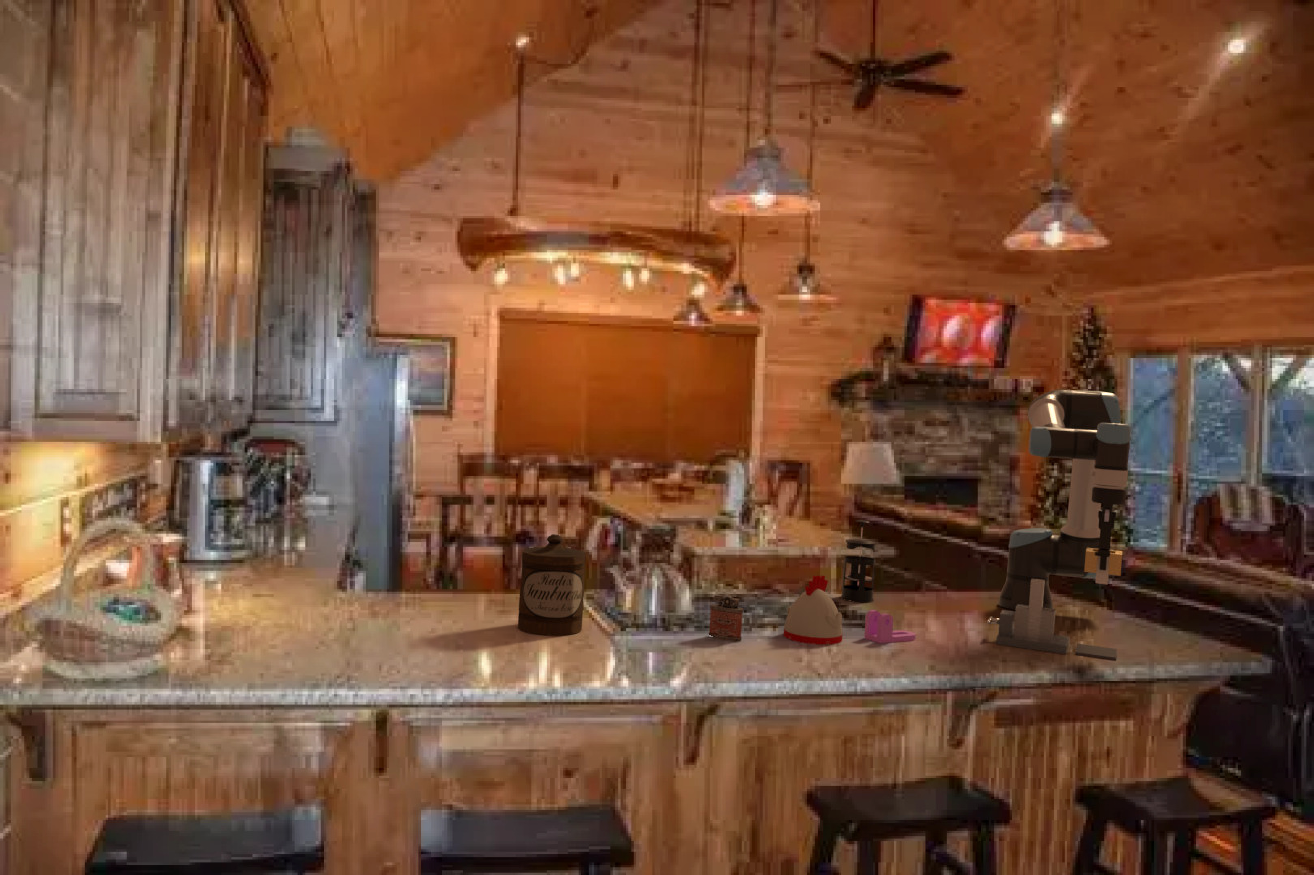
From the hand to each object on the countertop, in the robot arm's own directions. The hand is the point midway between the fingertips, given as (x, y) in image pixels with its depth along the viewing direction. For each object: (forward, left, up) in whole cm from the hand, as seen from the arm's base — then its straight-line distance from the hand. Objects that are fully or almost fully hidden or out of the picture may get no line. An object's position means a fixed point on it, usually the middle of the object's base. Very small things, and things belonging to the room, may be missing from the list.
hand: (1101, 581), depth 263 cm
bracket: (+18, -46, -18) cm, 52 cm away
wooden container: (+61, -117, -18) cm, 133 cm away
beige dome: (+29, -63, -18) cm, 71 cm away
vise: (0, -16, -18) cm, 24 cm away
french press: (-31, -66, -18) cm, 74 cm away
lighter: (+44, -80, -18) cm, 93 cm away
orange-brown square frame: (0, 0, +2) cm, 2 cm away
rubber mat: (0, 0, -18) cm, 18 cm away
